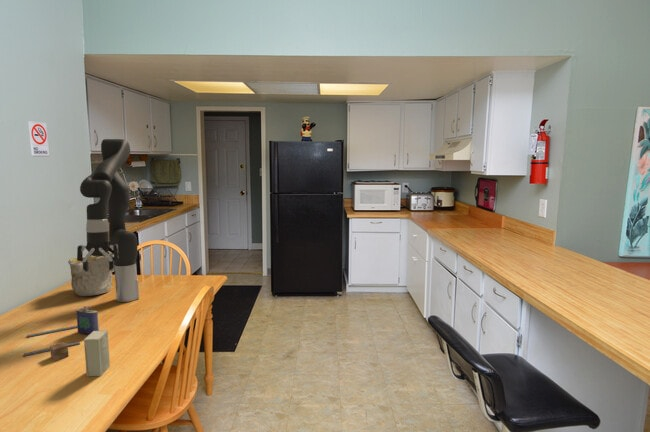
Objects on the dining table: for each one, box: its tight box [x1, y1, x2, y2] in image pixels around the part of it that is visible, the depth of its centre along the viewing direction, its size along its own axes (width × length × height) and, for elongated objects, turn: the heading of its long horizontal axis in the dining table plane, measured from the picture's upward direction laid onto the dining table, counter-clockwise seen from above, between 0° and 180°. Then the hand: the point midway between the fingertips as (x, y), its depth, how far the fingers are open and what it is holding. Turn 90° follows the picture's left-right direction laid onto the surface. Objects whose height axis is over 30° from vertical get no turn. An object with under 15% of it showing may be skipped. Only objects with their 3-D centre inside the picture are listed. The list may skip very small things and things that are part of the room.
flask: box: [75, 305, 100, 336], centre depth 146 cm, size 9×3×11 cm, turn 74°
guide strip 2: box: [23, 341, 81, 357], centre depth 134 cm, size 16×2×1 cm, turn 125°
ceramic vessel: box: [67, 250, 115, 297], centre depth 193 cm, size 23×24×25 cm
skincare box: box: [83, 330, 111, 377], centre depth 119 cm, size 6×4×12 cm
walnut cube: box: [49, 341, 70, 362], centre depth 129 cm, size 4×4×4 cm
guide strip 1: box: [26, 324, 78, 338], centre depth 148 cm, size 16×2×1 cm, turn 125°
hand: (98, 270), depth 154 cm, fingers open, 8 cm apart
